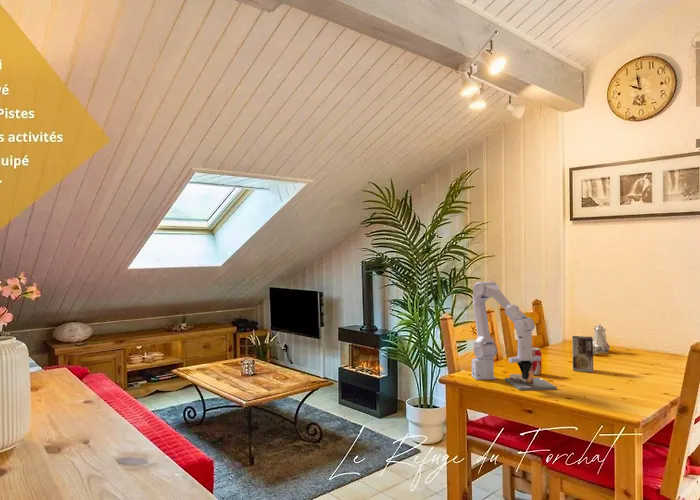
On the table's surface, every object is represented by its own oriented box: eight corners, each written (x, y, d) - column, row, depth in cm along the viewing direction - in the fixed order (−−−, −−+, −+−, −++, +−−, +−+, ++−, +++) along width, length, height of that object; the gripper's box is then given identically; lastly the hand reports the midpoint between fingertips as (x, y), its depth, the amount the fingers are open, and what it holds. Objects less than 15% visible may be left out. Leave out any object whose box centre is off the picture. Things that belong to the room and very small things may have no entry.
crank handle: (525, 384, 201) (525, 373, 201) (507, 376, 214) (506, 366, 214) (538, 383, 203) (537, 372, 203) (518, 375, 216) (518, 365, 216)
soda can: (542, 376, 223) (542, 350, 223) (526, 375, 224) (526, 349, 225) (540, 372, 230) (539, 347, 230) (524, 371, 231) (524, 346, 231)
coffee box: (593, 369, 235) (592, 336, 235) (593, 372, 229) (593, 338, 229) (572, 367, 239) (572, 335, 239) (572, 370, 233) (572, 337, 233)
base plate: (519, 390, 200) (519, 386, 200) (504, 380, 216) (504, 376, 216) (556, 389, 201) (556, 385, 201) (539, 379, 217) (539, 375, 217)
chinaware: (571, 349, 293) (568, 322, 293) (600, 347, 291) (597, 319, 291) (588, 359, 265) (584, 329, 266) (620, 357, 263) (616, 326, 263)
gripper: (515, 349, 197) (516, 382, 197) (545, 347, 201) (545, 379, 201) (505, 346, 204) (505, 378, 204) (534, 344, 208) (534, 375, 208)
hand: (524, 378), depth 203 cm, fingers closed
